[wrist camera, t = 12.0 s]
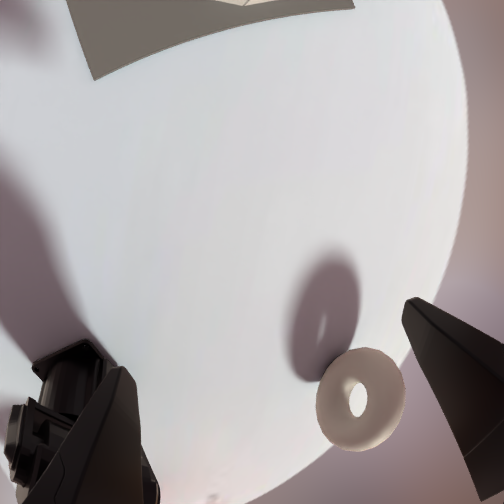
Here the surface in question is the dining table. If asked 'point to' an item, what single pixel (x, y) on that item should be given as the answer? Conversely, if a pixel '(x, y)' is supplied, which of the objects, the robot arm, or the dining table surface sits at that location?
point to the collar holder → (169, 24)
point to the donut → (378, 401)
